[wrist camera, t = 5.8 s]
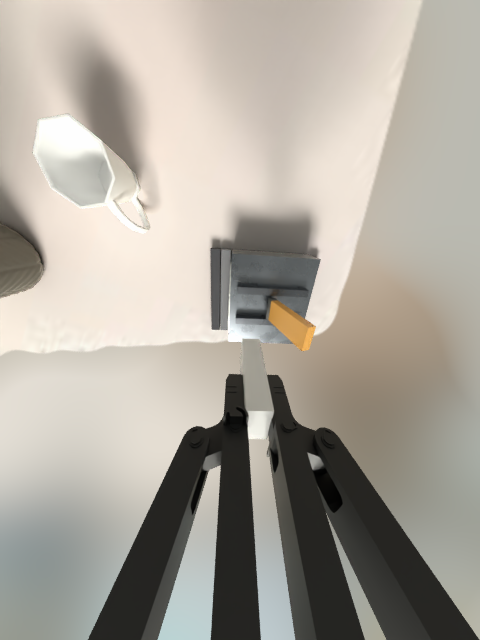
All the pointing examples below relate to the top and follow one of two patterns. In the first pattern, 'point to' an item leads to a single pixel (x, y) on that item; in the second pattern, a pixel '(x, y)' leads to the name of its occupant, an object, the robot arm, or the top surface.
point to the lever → (290, 324)
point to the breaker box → (267, 291)
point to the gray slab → (219, 265)
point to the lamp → (17, 263)
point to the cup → (85, 168)
